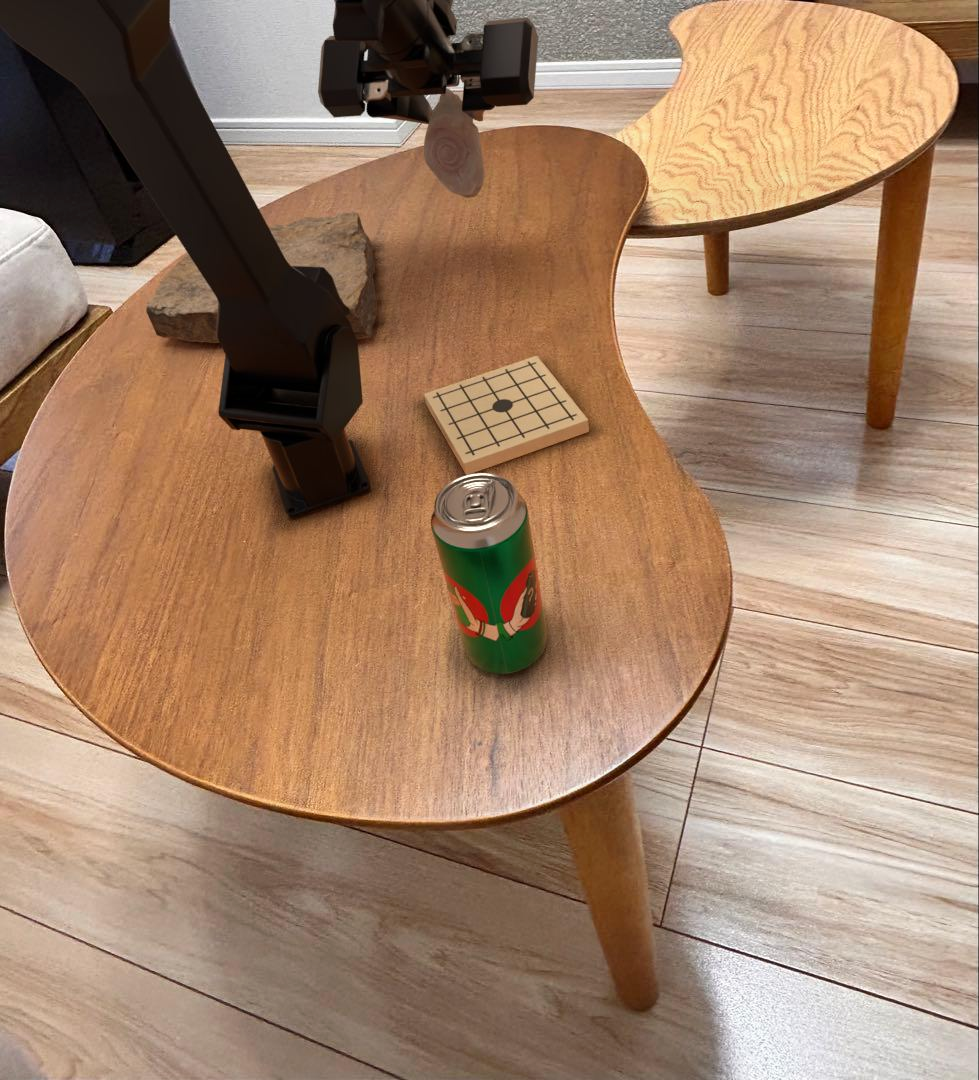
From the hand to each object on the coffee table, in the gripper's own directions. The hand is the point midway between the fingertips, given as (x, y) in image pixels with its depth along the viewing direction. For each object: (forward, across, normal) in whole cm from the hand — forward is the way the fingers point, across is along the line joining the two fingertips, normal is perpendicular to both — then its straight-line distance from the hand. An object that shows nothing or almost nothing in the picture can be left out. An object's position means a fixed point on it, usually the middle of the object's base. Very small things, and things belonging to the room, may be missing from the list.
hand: (456, 117), depth 81 cm
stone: (+2, +17, +17) cm, 24 cm away
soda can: (-26, -15, +46) cm, 54 cm away
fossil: (+4, 0, +6) cm, 7 cm away
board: (-11, -10, +30) cm, 33 cm away
